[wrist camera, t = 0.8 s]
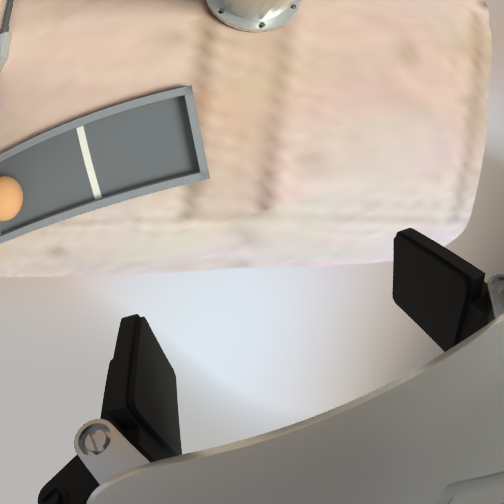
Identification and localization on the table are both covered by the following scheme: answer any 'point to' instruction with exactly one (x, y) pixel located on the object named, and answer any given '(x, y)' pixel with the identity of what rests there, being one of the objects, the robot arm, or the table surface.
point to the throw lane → (105, 159)
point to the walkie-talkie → (5, 35)
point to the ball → (10, 198)
